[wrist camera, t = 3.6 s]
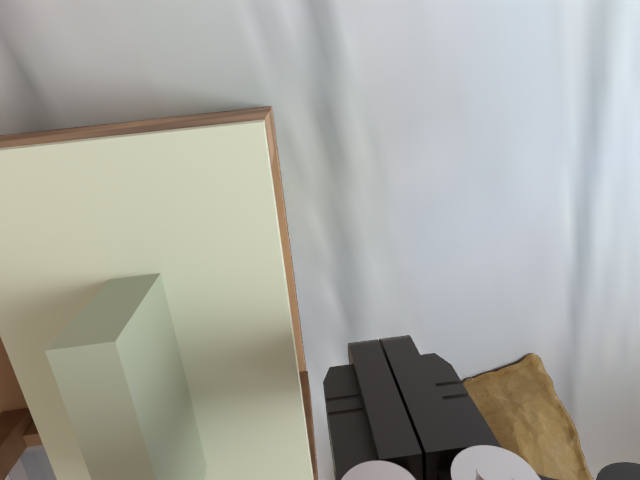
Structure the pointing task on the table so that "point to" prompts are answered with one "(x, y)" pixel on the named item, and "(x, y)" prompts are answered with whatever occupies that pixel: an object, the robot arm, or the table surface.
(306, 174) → the table surface
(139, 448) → the lid
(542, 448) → the rock
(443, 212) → the table surface
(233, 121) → the wooden drawer box
